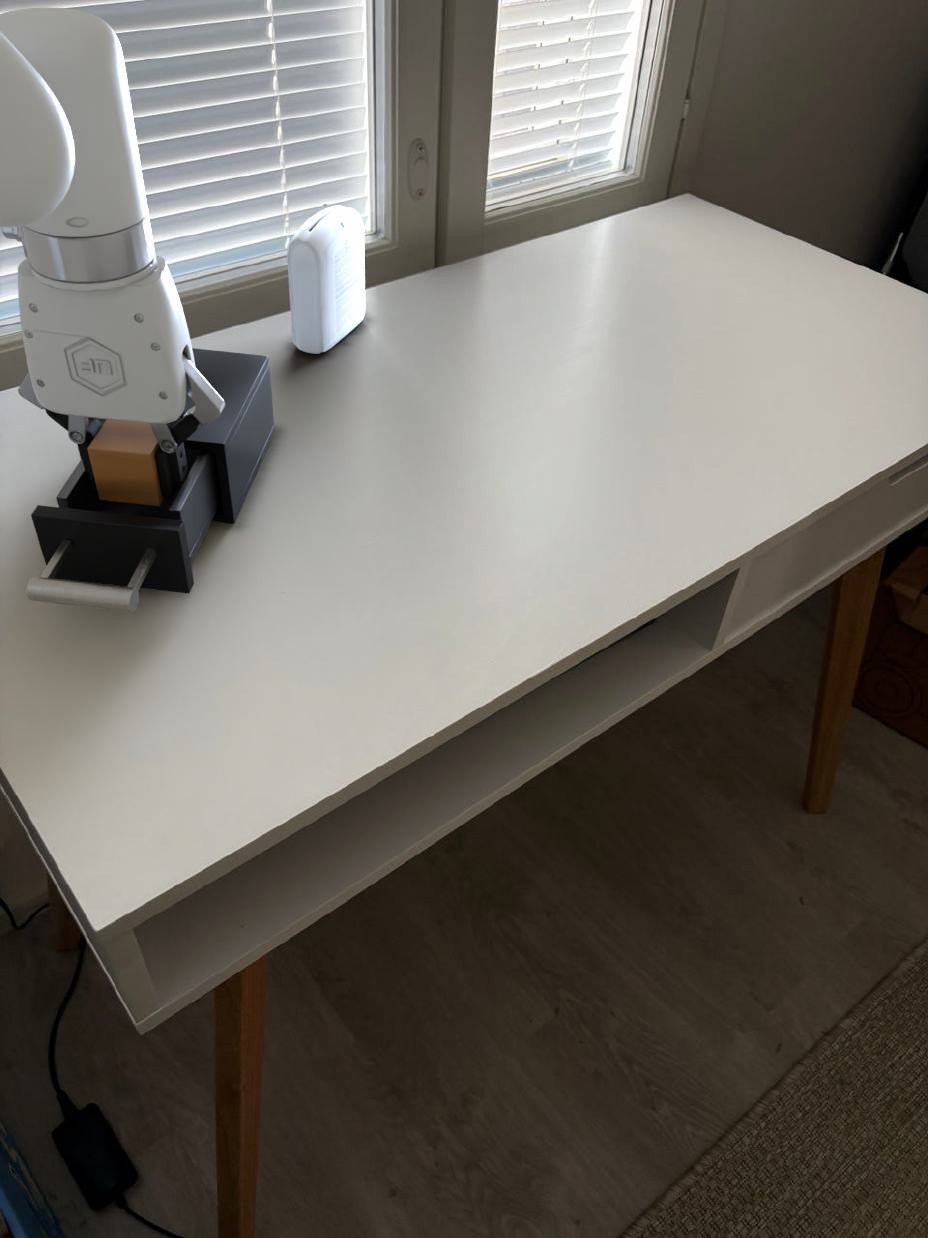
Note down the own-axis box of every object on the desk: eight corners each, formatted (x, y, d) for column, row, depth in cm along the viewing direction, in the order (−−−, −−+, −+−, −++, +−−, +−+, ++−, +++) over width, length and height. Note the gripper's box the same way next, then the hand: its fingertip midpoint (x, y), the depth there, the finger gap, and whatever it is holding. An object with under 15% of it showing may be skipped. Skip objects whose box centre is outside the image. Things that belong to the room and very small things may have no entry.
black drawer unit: (234, 524, 81) (224, 443, 76) (92, 508, 81) (72, 427, 76) (275, 432, 91) (268, 355, 86) (148, 418, 91) (134, 341, 86)
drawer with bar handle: (164, 650, 69) (150, 586, 65) (15, 633, 69) (-7, 568, 65) (235, 493, 82) (228, 432, 78) (110, 479, 83) (97, 418, 79)
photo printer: (335, 308, 109) (331, 191, 100) (370, 317, 108) (369, 199, 99) (286, 349, 102) (277, 227, 93) (324, 359, 101) (319, 237, 92)
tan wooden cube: (159, 506, 73) (149, 454, 70) (99, 500, 74) (86, 448, 71) (178, 471, 77) (170, 420, 74) (120, 465, 77) (109, 413, 74)
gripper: (-72, 255, 60) (7, 502, 73) (206, 282, 59) (237, 526, 72) (-16, 206, 66) (48, 444, 78) (240, 231, 65) (263, 466, 77)
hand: (139, 481), depth 75 cm, fingers closed on tan wooden cube, 4 cm apart
